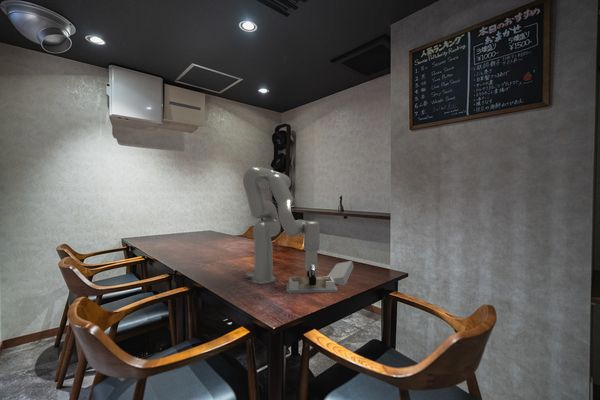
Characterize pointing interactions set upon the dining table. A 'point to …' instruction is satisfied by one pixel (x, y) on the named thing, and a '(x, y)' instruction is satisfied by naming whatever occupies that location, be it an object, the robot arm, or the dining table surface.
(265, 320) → the dining table surface
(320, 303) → the dining table surface
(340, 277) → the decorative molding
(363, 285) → the dining table surface
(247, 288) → the dining table surface
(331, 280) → the cradle
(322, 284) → the slat
